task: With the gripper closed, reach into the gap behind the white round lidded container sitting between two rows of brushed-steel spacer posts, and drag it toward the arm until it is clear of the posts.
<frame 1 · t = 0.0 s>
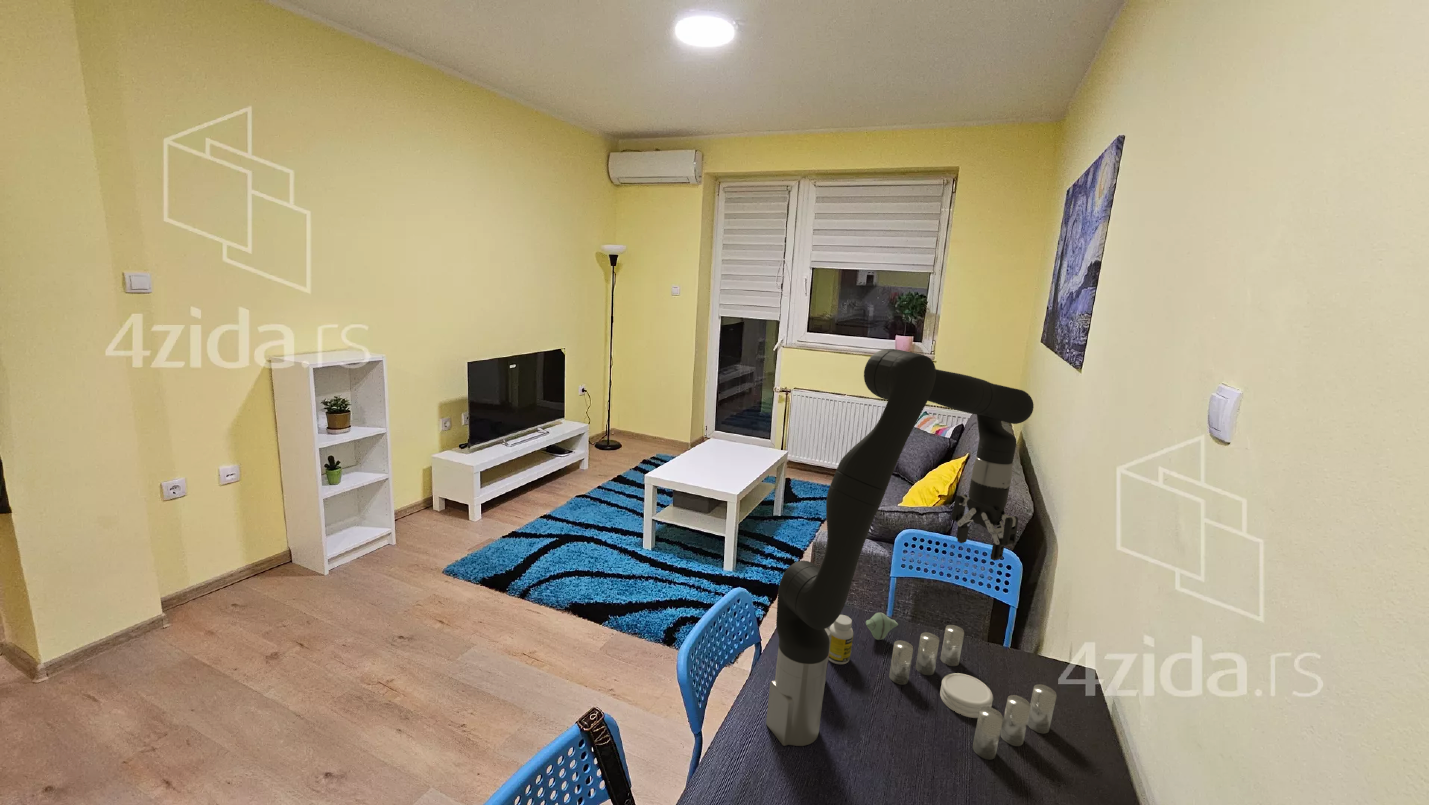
hand: (977, 550, 129), 29 cm above the table, tool pointing down, fingers open, 8 cm apart
energy drink: (813, 680, 128), on the table
pig figurine: (877, 639, 145), on the table
supplement bottle: (837, 658, 136), on the table
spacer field: (964, 701, 125), on the table
white round lidded container: (964, 703, 125), on the table
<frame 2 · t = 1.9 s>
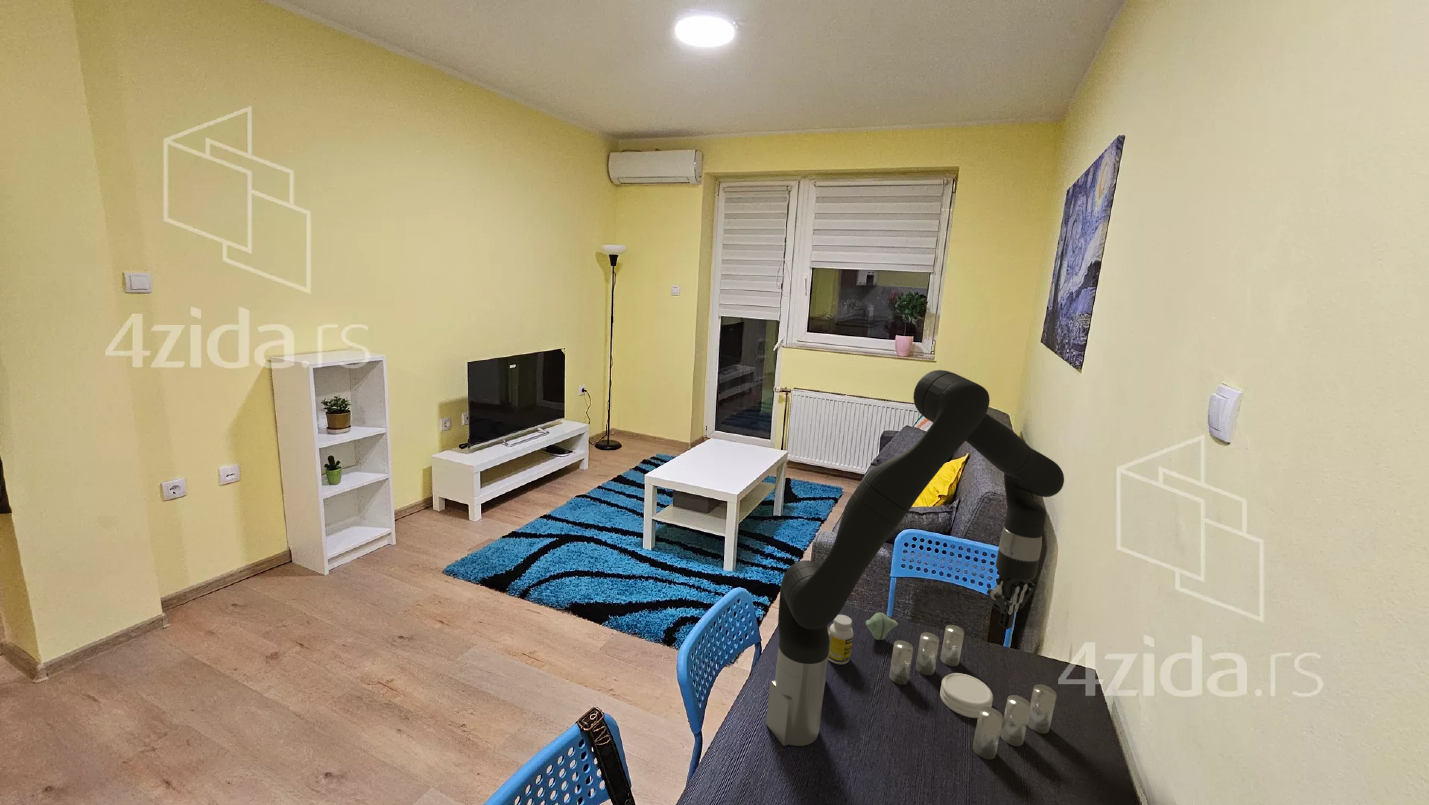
hand: (1004, 626, 126), 15 cm above the table, tool pointing down, fingers closed
nothing on the table moved.
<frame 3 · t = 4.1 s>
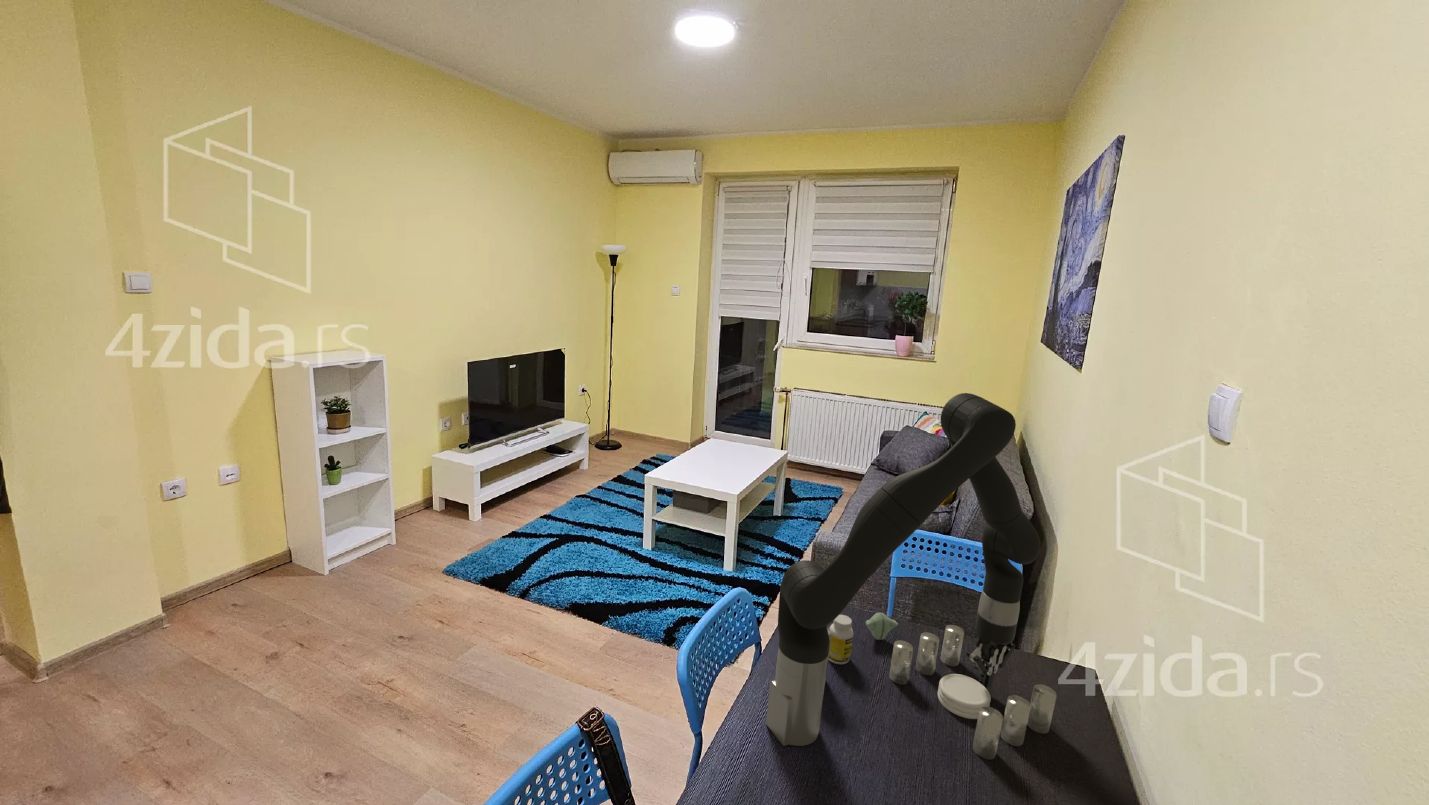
hand: (984, 686, 128), 2 cm above the table, tool pointing down, fingers closed
nothing on the table moved.
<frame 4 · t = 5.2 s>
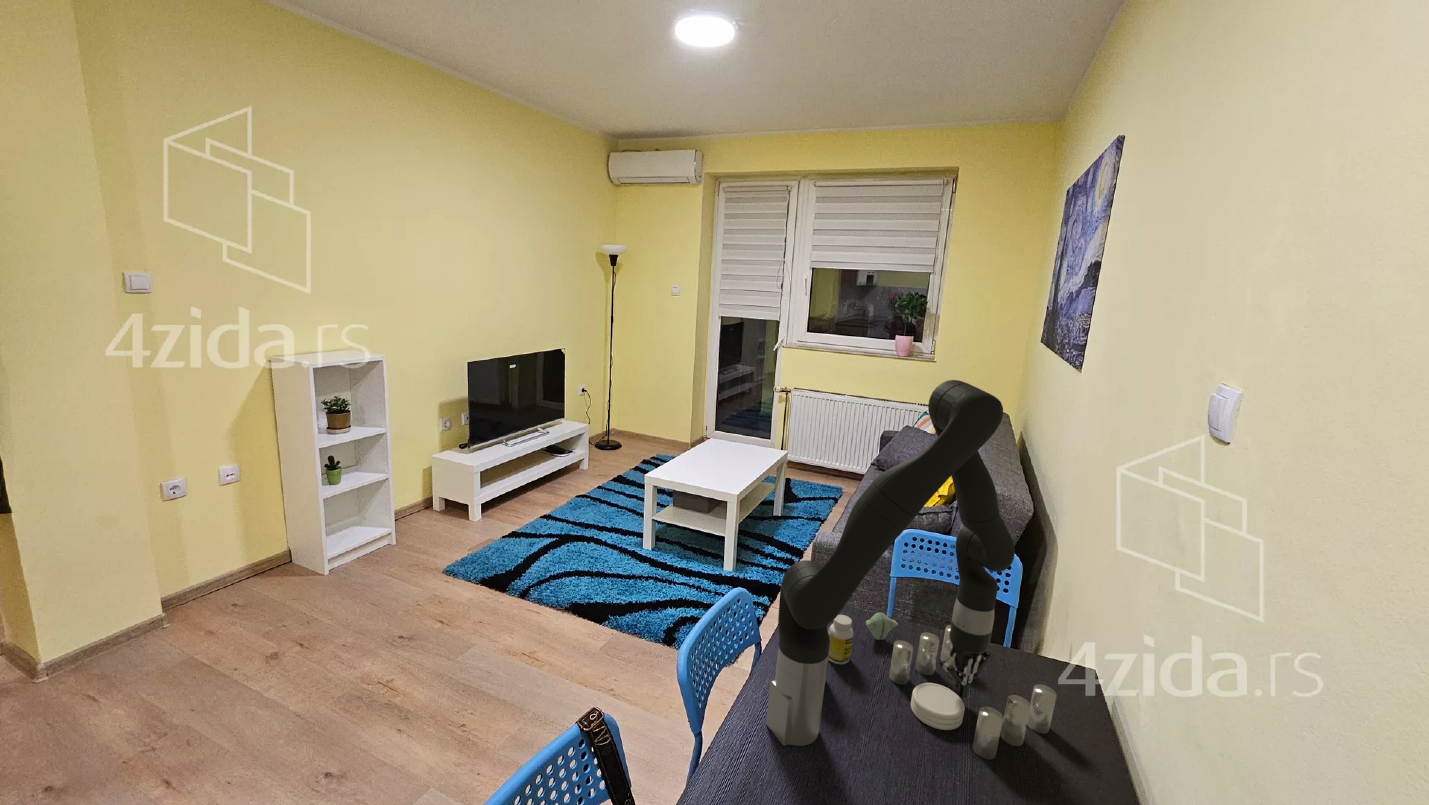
hand: (959, 696, 124), 2 cm above the table, tool pointing down, fingers closed
white round lidded container: (935, 714, 121), on the table, touching gripper
everything else where it was.
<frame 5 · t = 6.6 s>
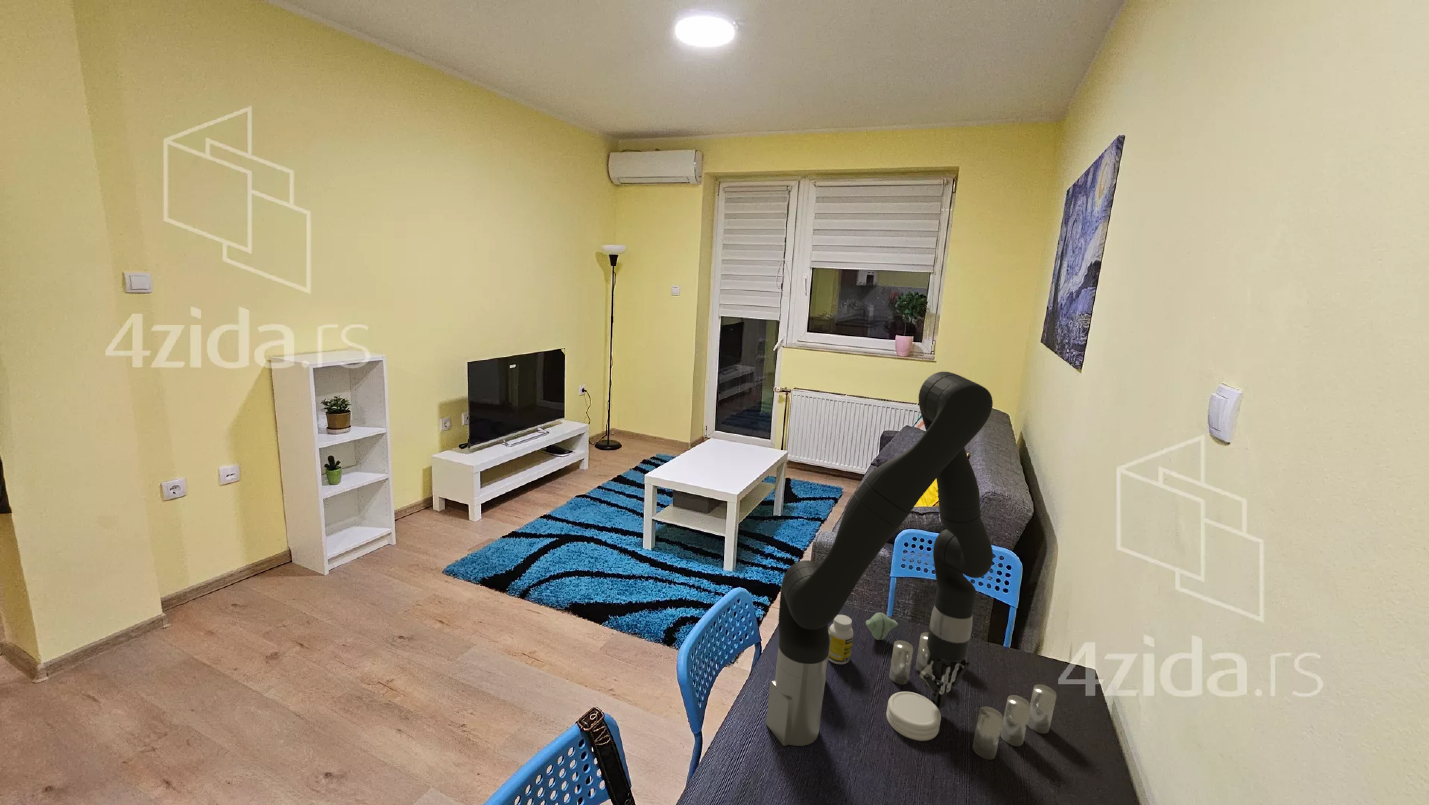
hand: (937, 705, 121), 2 cm above the table, tool pointing down, fingers closed
white round lidded container: (911, 723, 118), on the table
everything else where it was.
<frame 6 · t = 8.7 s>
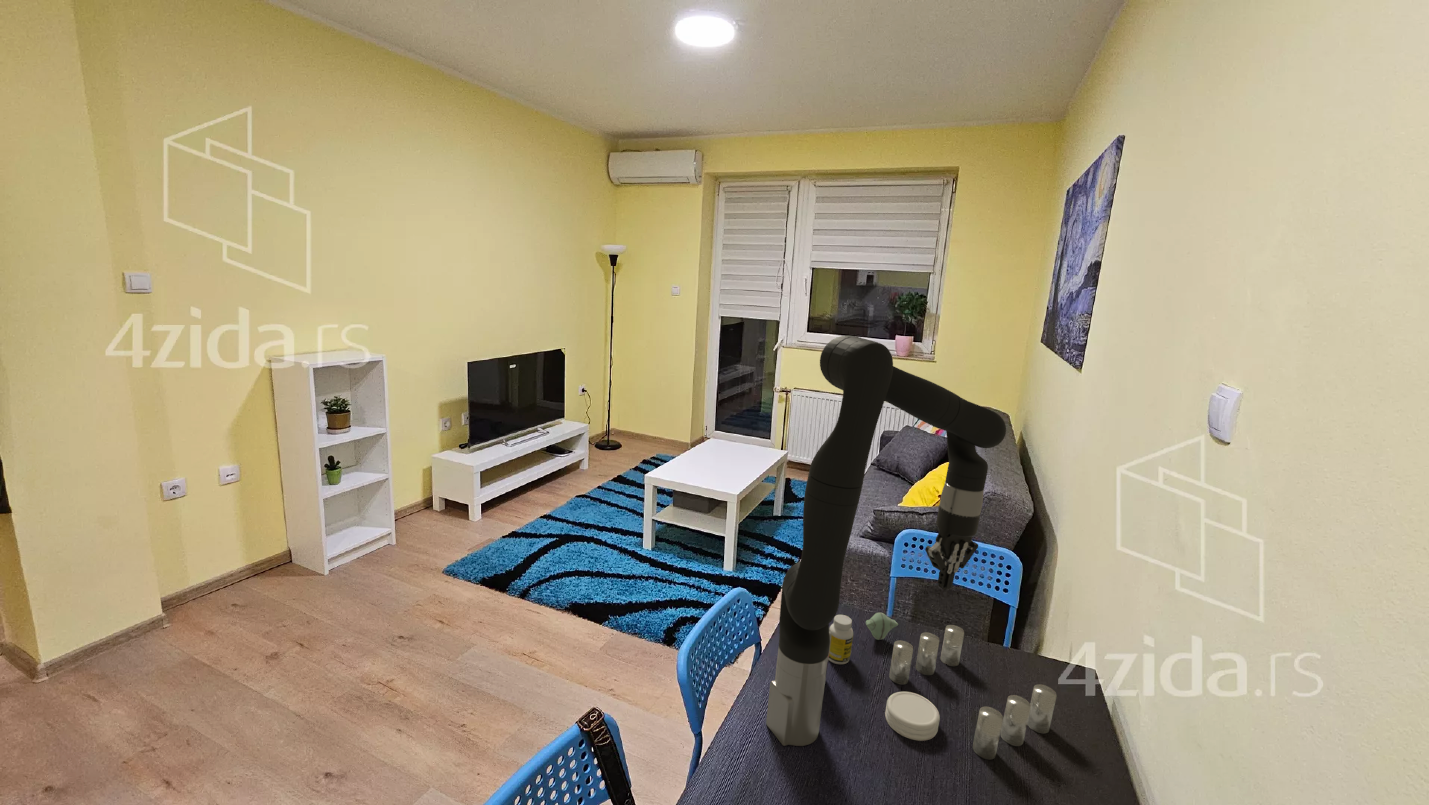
hand: (944, 587, 120), 25 cm above the table, tool pointing down, fingers closed
nothing on the table moved.
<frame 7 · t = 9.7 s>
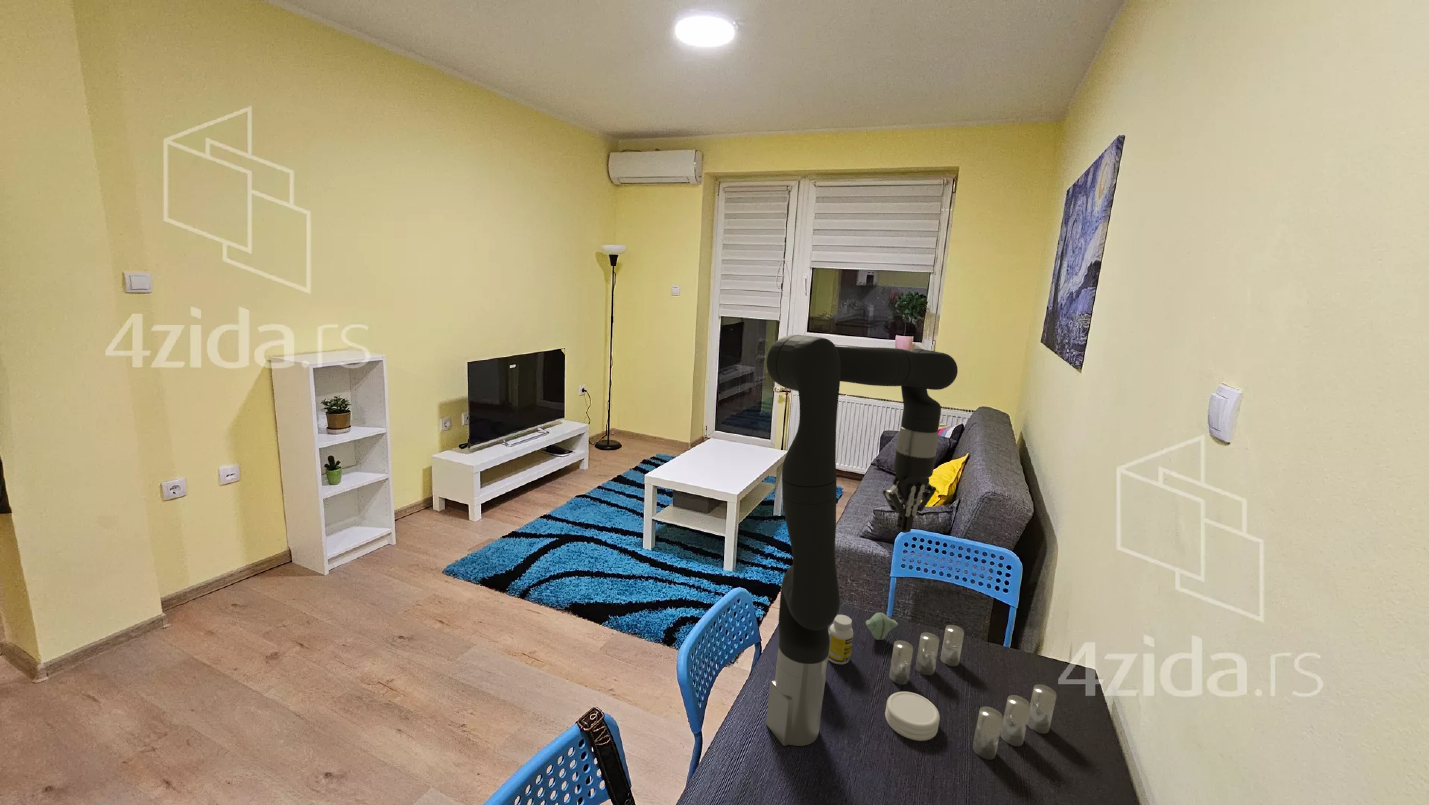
hand: (903, 531, 122), 35 cm above the table, tool pointing down, fingers closed
nothing on the table moved.
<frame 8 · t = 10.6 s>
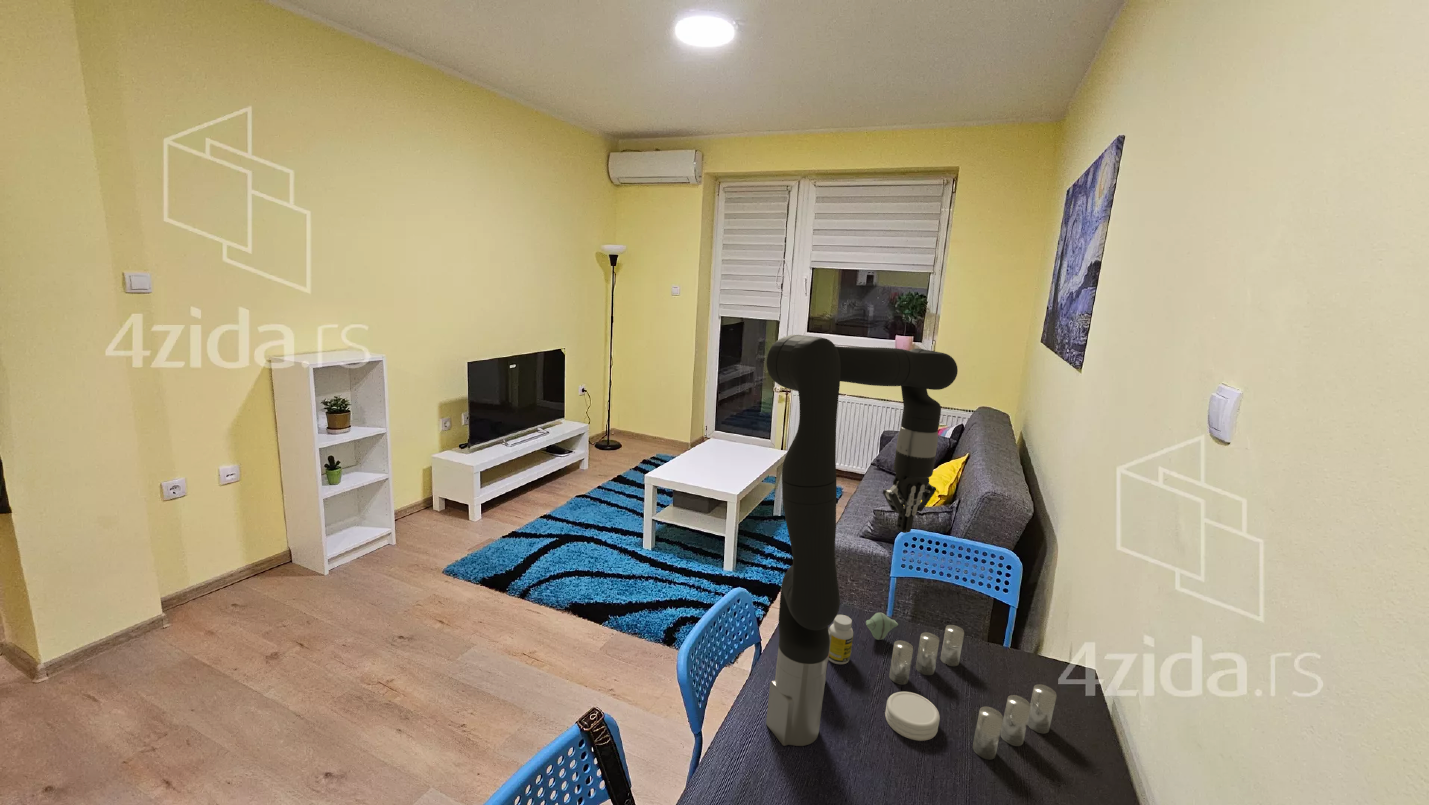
hand: (903, 531, 122), 35 cm above the table, tool pointing down, fingers closed
nothing on the table moved.
at the end: white round lidded container inside the target area (2.1 cm from its centre), on the table; white round lidded container moved 15.4 cm from its start; white round lidded container tilted 0° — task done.
